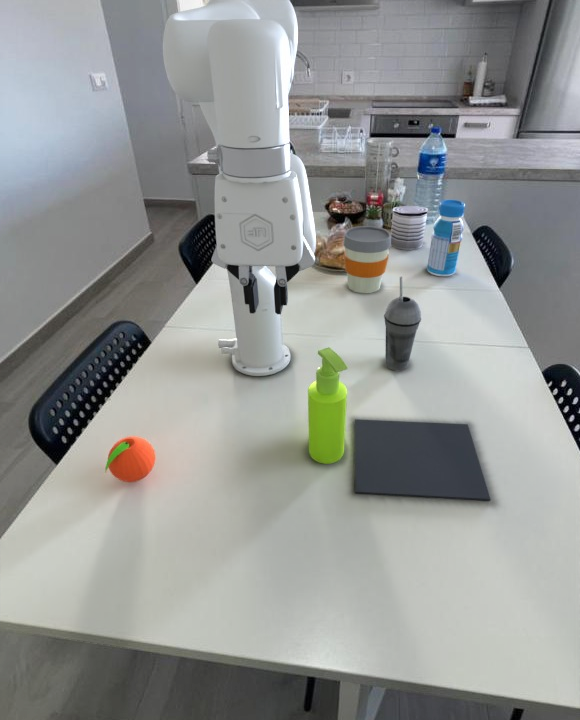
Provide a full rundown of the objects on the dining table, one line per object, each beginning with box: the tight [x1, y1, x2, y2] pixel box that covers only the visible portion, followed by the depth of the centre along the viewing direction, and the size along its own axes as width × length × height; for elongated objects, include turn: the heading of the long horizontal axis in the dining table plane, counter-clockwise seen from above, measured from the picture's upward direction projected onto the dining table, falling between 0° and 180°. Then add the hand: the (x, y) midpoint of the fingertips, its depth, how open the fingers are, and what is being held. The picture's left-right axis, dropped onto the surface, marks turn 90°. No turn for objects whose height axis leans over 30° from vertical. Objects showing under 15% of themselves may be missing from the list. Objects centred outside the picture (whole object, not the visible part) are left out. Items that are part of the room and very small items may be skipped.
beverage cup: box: [383, 276, 422, 371], centre depth 89 cm, size 7×7×20 cm
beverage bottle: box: [426, 199, 466, 277], centre depth 127 cm, size 8×8×20 cm
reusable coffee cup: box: [342, 225, 392, 294], centre depth 121 cm, size 13×13×15 cm
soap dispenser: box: [307, 346, 349, 465], centre depth 69 cm, size 6×7×20 cm
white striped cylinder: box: [390, 205, 429, 251], centre depth 147 cm, size 11×11×12 cm
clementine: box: [105, 435, 156, 483], centre depth 69 cm, size 8×7×7 cm
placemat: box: [354, 418, 491, 502], centre depth 73 cm, size 20×16×1 cm
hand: (266, 307), depth 59 cm, fingers closed
